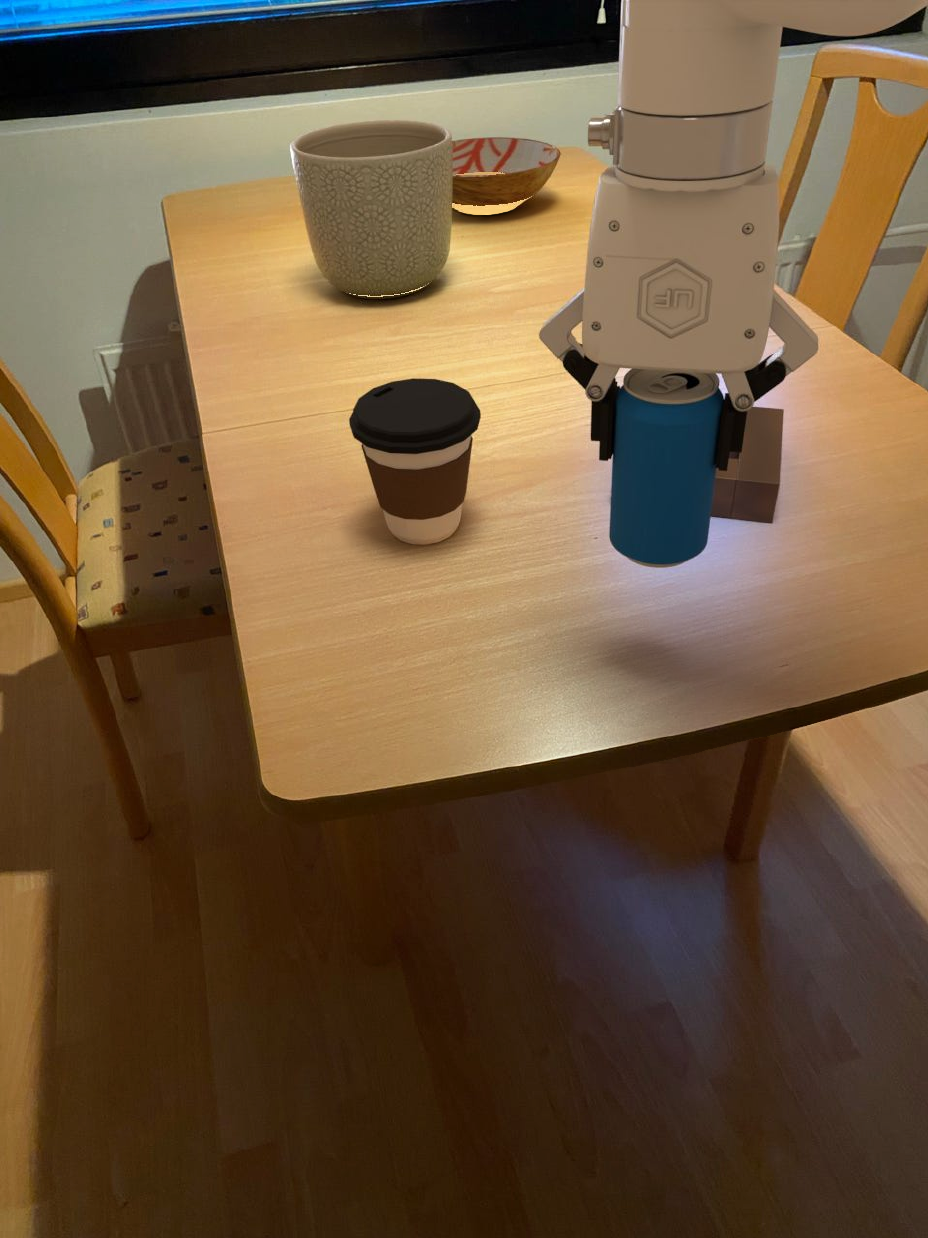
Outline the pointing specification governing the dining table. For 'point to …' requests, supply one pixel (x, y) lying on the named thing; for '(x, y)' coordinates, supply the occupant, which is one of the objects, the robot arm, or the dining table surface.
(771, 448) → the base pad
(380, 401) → the coffee cup
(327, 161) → the planter
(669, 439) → the beverage can
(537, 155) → the bowl
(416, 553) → the dining table surface
